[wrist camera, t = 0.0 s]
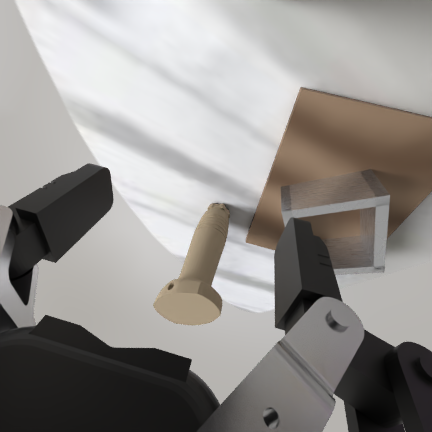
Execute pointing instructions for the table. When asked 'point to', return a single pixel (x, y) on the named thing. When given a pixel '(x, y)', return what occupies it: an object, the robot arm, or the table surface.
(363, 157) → the walnut board
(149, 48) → the table surface
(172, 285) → the handle
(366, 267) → the collar
